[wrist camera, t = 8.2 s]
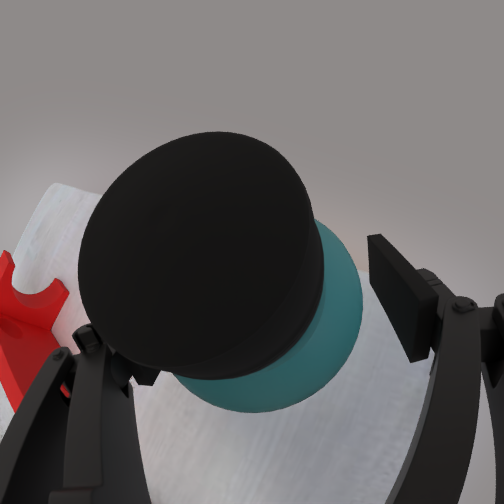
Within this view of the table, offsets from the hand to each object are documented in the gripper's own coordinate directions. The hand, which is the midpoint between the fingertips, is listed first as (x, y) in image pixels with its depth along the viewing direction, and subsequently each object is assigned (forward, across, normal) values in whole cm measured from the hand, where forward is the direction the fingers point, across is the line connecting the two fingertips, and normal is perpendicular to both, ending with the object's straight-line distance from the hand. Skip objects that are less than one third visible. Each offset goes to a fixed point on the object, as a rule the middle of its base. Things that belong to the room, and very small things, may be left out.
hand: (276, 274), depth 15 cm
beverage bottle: (+4, 0, -9) cm, 10 cm away
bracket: (+4, -26, -9) cm, 27 cm away
